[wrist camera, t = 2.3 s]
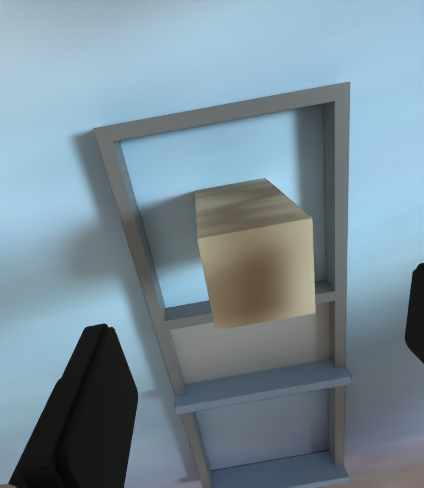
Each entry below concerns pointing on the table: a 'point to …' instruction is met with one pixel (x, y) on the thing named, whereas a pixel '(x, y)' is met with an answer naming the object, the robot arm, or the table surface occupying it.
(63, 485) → the robot arm
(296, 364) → the grey flat frame
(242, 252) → the tan wooden block
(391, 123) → the table surface
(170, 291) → the table surface
